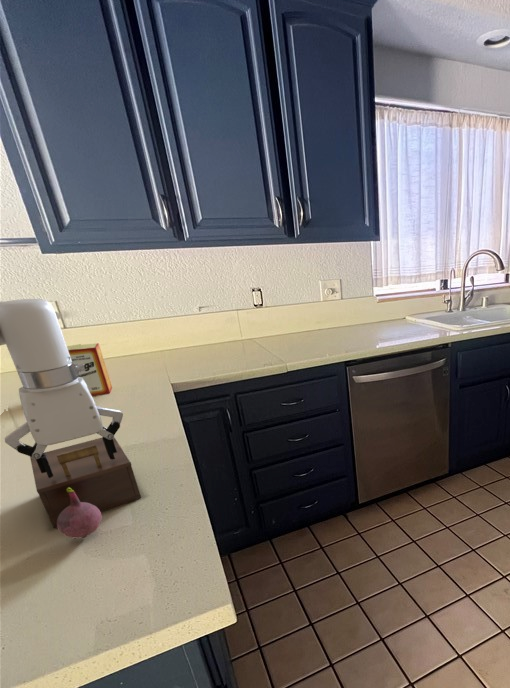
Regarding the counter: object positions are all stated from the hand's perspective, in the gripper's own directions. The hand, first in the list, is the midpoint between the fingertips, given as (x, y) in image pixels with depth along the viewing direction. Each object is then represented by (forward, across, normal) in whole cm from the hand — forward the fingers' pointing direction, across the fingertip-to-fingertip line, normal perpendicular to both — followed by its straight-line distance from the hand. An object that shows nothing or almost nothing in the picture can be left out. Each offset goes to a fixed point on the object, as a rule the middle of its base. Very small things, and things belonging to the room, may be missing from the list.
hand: (82, 465), depth 79 cm
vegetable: (+10, +3, +9) cm, 14 cm away
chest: (+10, 0, -6) cm, 11 cm away
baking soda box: (+10, -12, -80) cm, 81 cm away
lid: (+2, 0, -6) cm, 6 cm away
